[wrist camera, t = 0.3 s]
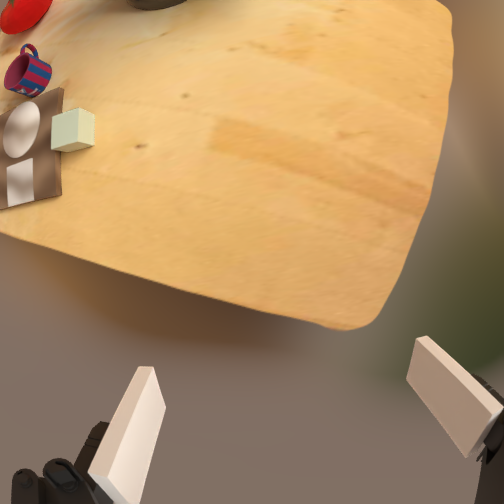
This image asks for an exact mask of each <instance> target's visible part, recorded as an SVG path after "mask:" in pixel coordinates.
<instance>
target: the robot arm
mask: <svg viewBox="0 0 504 504" xmlns="http://www.w3.org/2000/svg"><path fill="white" fill-rule="evenodd" d="M184 1H186V0H127V2H128V3H129V4H130V5H132V6H133V7H136V8H139V9H145V10H154V9H162V8H167V7H170V6H174V5H177V4H179V3H182V2H184ZM406 380H407V381H408V383H409V384H410V385H411V386H412V388H413V389H414V390H415V392H416V393H417V394H418V395H419V397H420V398H421V399H422V400H423V402H424V403H425V404H426V406H427V407H428V408H429V409H430V411H431V412H432V413H433V415H434V416H435V417H436V419H437V420H438V421H439V423H440V424H441V425H442V427H443V428H444V429H445V431H446V432H447V433H448V435H449V436H450V437H451V438H452V440H453V441H454V443H455V444H456V446H457V447H458V448H459V450H460V451H461V452H462V454H463V455H464V457H465V458H466V457H468V456H470V455H471V454H473V453H475V452H476V451H477V450H478V449H479V447H480V446H481V444H482V443H483V442H484V444H485V445H486V446H485V448H484V449H483V450H482V452H481V453H480V455H479V456H478V457H477V460H476V461H479V459H480V458H481V457H482V455H483V457H482V460H481V462H482V465H481V472H480V478H479V484H478V489H477V494H476V498H475V503H474V504H504V398H502V397H501V396H500V395H499V394H498V393H497V392H496V391H495V390H494V389H492V387H491V386H490V385H488V384H487V382H486V381H484V380H483V379H482V378H481V377H479V376H477V375H475V374H471V375H470V374H469V373H468V372H467V371H466V370H465V369H464V368H463V367H461V366H460V365H459V364H458V363H457V362H456V361H455V360H454V359H453V358H452V357H450V356H449V355H448V354H447V353H446V352H445V351H444V350H443V349H442V348H440V347H439V346H438V345H437V344H436V343H435V342H434V341H432V340H431V339H430V338H429V337H428V336H424V337H420V338H416V341H415V346H414V350H413V354H412V358H411V363H410V367H409V370H408V375H407V378H406ZM165 409H166V407H165V404H164V400H163V397H162V394H161V391H160V388H159V385H158V381H157V378H156V375H155V371H154V368H153V367H144V366H143V367H142V366H139V367H138V369H137V371H136V373H135V374H134V376H133V378H132V380H131V382H130V384H129V386H128V388H127V390H126V392H125V394H124V396H123V398H122V400H121V402H120V404H119V406H118V408H117V410H116V412H115V414H114V416H113V418H112V420H111V422H110V423H107V422H101V421H100V423H98V424H97V425H96V426H95V427H93V428H92V430H91V432H90V434H89V436H88V439H87V440H86V442H85V445H84V446H83V448H82V449H81V451H80V454H79V456H78V457H77V460H76V462H75V463H74V466H73V465H72V464H71V462H69V461H67V460H66V459H62V458H57V459H52V460H50V461H49V462H48V463H46V464H45V466H44V468H43V476H44V477H45V478H42V477H38V476H37V475H36V473H35V472H33V471H32V470H30V469H20V470H19V471H17V472H16V473H15V474H14V476H13V479H12V494H11V495H12V497H11V504H113V502H114V503H115V504H139V503H140V499H141V495H142V491H143V487H144V484H145V480H146V476H147V472H148V468H149V465H150V461H151V458H152V454H153V451H154V447H155V443H156V440H157V437H158V433H159V430H160V426H161V423H162V419H163V416H164V413H165Z"/></svg>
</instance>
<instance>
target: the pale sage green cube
mask: <svg viewBox="0 0 504 504" xmlns="http://www.w3.org/2000/svg"><path fill="white" fill-rule="evenodd" d="M94 128H95V115H94V114H92V113H90V112H88V111H86V110H84V109H82V108H76V109H73V110H70V111H67V112H64V113H61V114H58V115H56V116H53V117H52V131H51V149H52V150H58V151H64V152H72V151H75V150H79V149H83V148H87V147H91V146H94Z"/></svg>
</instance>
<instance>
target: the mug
mask: <svg viewBox="0 0 504 504" xmlns="http://www.w3.org/2000/svg"><path fill="white" fill-rule="evenodd" d="M25 47H27V48H29V49H30V50H31V51H32V53H33V55H34V56H33V55H31V54H29V53H25ZM51 74H52V69H51V66H50V65H49V64H47V63H45V62H43V61H42V60H40V59H39V57H38V52H37V50H36V48H35V47H34V46H33V45H31V44H25V45H24V46H22V48H21V52H20V55H19V56H18V57H17V58H16V59H15V60H14V61H13V62H12V63H11V65H10V66H9V68H8V70H7V72H6V75H5V78H4V86H5V88H6V89H8V90H11V91H14V92H17V93H20V94H23V95H25V96H28V97H35V96H37V95H39V94H40V93H41V92H42V91H43V90H44V89H45V88H46V86H47V85H48V83H49V81H50V78H51Z"/></svg>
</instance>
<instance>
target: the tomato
mask: <svg viewBox="0 0 504 504" xmlns="http://www.w3.org/2000/svg"><path fill="white" fill-rule="evenodd" d="M52 1H53V0H9V2H8V4H7V6H6V7H5V9H4V10H3V11H2V13H1V17H0V27H1V29H2V31H3V32H4V33H6V34H17V33H20V32H22V31H24V30H26V29H29V28H31V27H32V26H34V25H35V24H36V23H37V22H38V21H39V20H40V19H41V17H42V16H43V15H44V14H45V12H46V11H47V9H48V8H49V6H50V5H51V3H52Z"/></svg>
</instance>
